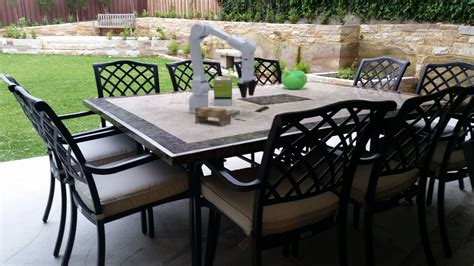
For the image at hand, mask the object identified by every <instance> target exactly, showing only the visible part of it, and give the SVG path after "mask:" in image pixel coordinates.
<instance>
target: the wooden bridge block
mask: <svg viewBox="0 0 474 266" xmlns="http://www.w3.org/2000/svg"><path fill="white" fill-rule="evenodd" d="M226 112H227V108H219V107H218V108H215V107H209V106H208V107H201V106H200V107H197V108H195V113H194V115H195V116H194V117H195V120H194V121H195V123H196V124H201V123H202V122H206V121H208V120H209V118H212V119H218V126H219V127H223V125H224V126H226V124H227V125H229V124H231V123H232V118H231V113H226ZM205 120H206V121H205ZM230 122H231V123H230ZM228 123H229V124H228Z"/></svg>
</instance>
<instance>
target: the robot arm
mask: <svg viewBox="0 0 474 266" xmlns="http://www.w3.org/2000/svg"><path fill="white" fill-rule="evenodd" d="M211 35H213V36H215V37H217V38H219V39H221V40H223V41H225V42H227V45H228V46H229V47H231V48H233V49H235V50H237V51H239V52H240V53H241V77H240V78H238V82H237V83H236V85H237V87H238V89H239V90H238V91H239V92H240V97H241V98H242V99H247V95H248V96H252V97H253V96H254V94H255V89H256V87H257V86H258V85H257V84H258V83H259V80H257V76H256V75H254V74H255V52H256V51H257V50H256V49H257V47H256V45H255V43H254V42H253V41H248V39H246V38H243V37H240V36H239V34H237V33H236V34H234V33H233V34H231V35H230V33H229V34H228V33H227V32H225V31H224V30H223V29H220V28H219V27H217V26H216V25H213V24H210V23H209V22H196V23H194V24H193V25H192V26H191V27H190V34H189V36H188V37H189V38H188V47H189V54H190V58H191V59H190V60H191V66H192V73H193V78H192V80H191V84H192V85H191V92H192V93H191V95H190V96H189V98H188V106H189V107H188V110H189V111H188V113H190V114H195V108H197V107H200V106H201V107H209V92H210V90H211V85H210V83H209V81H208V77H207V76H206V75H205V69H204V62H203V55H202V48H201V43H202V42H203V41H204V39H206V38H207V37H209V36H211Z"/></svg>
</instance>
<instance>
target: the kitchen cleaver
mask: <svg viewBox="0 0 474 266" xmlns="http://www.w3.org/2000/svg"><path fill="white" fill-rule="evenodd" d="M267 109H268V110H270V106H265V105H264V106H262V107H260V108H258V109H256V110H254V111H252V112H249V113H247V114H242V115H237V116H234V118H235V119H238V120H240V121H241V120H242V121H243V122H244V121H245V122H250V121H249V120H251V119H253V118H255V117H257V116H259V115H261V114H263V113H262V111H263V112H265V111H268V110H267Z"/></svg>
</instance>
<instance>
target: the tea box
mask: <svg viewBox="0 0 474 266" xmlns="http://www.w3.org/2000/svg"><path fill="white" fill-rule="evenodd" d="M232 83H233V80H232V76H229V75H228V76H225V75H224V76H223V75H222V76H214V78H213V100H214V101H213V105H214V106H215V107H220V106H221V107H222V106H223V107H224V106H225V107H227V106H228V107H229V106H231V107H232V106H233V105H232V104H233V103H232V102H233V84H232Z"/></svg>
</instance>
